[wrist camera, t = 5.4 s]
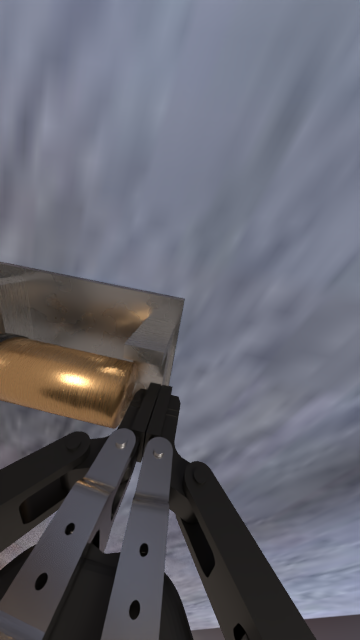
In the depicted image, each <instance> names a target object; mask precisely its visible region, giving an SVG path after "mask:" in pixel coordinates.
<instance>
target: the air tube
mask: <svg viewBox="0 0 360 640" xmlns="http://www.w3.org/2000/svg"><path fill="white" fill-rule="evenodd" d="M136 373H137V367H136V364H135V363H134V362H129V361H125V360H120V359H116V358H112V357H107V356H103V355H98V354H94V353H89V352H85V351H81V350H76V349H72V348H67V347H63V346H58V345H54V344H50V343H45V342H41V341H36V340H32V339H29V338H27V337H25V336H21V335H16V334H11V333H1V332H0V400H1V401H5V402H9V403H13V404H17V405H21V406H25V407H29V408H33V409H37V410H41V411H45V412H49V413H53V414H57V415H61V416H65V417H69V418H73V419H77V420H81V421H85V422H89V423H93V424H97V425H101V426H105V427H109V428H113V429H114V428H116V427H117V426H118V425H119V424H120V422H121V421H122V419H123V417H124V415H125V413H126V410H127V408H128V405H129V403H130V400H131V397H132V393H133V390H134V386H135V381H136Z"/></svg>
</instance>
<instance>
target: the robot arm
mask: <svg viewBox="0 0 360 640" xmlns="http://www.w3.org/2000/svg"><path fill="white" fill-rule="evenodd" d="M171 392H172V387H171V386H166V385H162V386H161V384H157V383H153V382H151V383H150V385H149V387H148V389H142V388H141V389H140V390H138V391H137V392H136V393H135V395H134V397H133V399H132V401H131V403H130V405H129V407H128V409H127V411H126V413H125V415H124V417H123V419H122V421H121V423H120V425H119V427H118V429H117V430H116V431H114V432H113V433H112V434H111V435H110V436H108V437H105V438H97V439H90V438H89V436H88V434H86V433H85V432H73V433H71V434H69V435H67V436H65V437H63V438H61V439H59V440H57V441H55V442H53V443H51V444H49V445H47V446H45V447H43V448H41V449H40V450H38V451H36V452H34V453H32V454H30V455H28V456H26V457H24V458H22V459H20V460H18V461H16V462H14V463H12V464H10V465H9V466H7V467H5V468H3V469H1V470H0V552H2V551H3V550H4V549H6V548H7V547H8V546H10V545H11V544H12V543H14V542H15V541H16V540H18V539H19V538H20V537H22V536H23V535H24V534H26V533H27V532H29V531H30V530H31V529H33V528H34V527H35V526H37V525H38V524H39V523H41V522H42V521H43V520H45V519H46V518H47V517H49V516H50V515H51V514H53V513H54V512H56V511H57V510H58V511H57V512H56V514H55V516H54V517H53V519H52V520H51V522H50V523H49V525H48V527H47V528H46V530H45V531H44V533H43V535H42V536H41V538H40V539H39V541H38V542H37V544H36V545H34V546H32V547H30V548H29V549H27V550H26V551H24V552H23V553H21V554H20V555H18V556H17V557H16V558H15V559H13V560H12V561H11V562H10V563H8V564H7V565H6V566H5V567H4V568H2V569H1V570H0V640H193V636H192V633H191V630H190V626H189V623H188V620H187V616H186V613H185V610H184V607H183V604H182V601H181V599H180V596H179V594H178V592H177V590H176V588H175V586H174V584H173V583H172V581H171V580H170V578H169V577H168V576H167V575H166V574H165V572H164V569H165V557H166V544H167V532H168V520H169V509H170V510H172V511H173V512H174V513H175V514H176V518H177V521H178V523H179V526H180V528H181V531H182V533H183V536H184V538H185V541H186V543H187V546H188V548H189V551H190V553H191V556H192V558H193V561H194V563H195V566H196V568H197V571H198V573H199V576H200V578H201V581H202V583H203V586H204V588H205V591H206V593H207V595H208V598H209V600H210V603H211V605H212V608H213V610H214V613H215V615H216V618H217V620H218V623H219V625H220V628H221V630H222V633H223V635H224V638H225V640H316V638H315V637H314V635H313V634H312V632H311V630H310V629H309V627H308V626H307V624H306V622H305V621H304V619H303V617H302V616H301V614H300V613H299V611H298V609H297V608H296V606H295V604H294V603H293V601H292V600H291V598H290V596H289V595H288V593H287V592H286V590H285V588H284V587H283V585H282V584H281V582H280V580H279V579H278V577H277V576H276V574H275V572H274V571H273V569H272V567H271V566H270V564H269V563H268V561H267V559H266V558H265V556H264V555H263V553H262V551H261V550H260V548H259V547H258V545H257V543H256V542H255V540H254V538H253V537H252V535H251V534H250V532H249V530H248V529H247V527H246V526H245V524H244V522H243V521H242V519H241V518H240V516H239V514H238V513H237V511H236V509H235V508H234V506H233V505H232V503H231V501H230V500H229V498H228V497H227V495H226V493H225V492H224V490H223V489H222V487H221V485H220V484H219V482H218V480H217V479H216V477H215V476H214V474H213V472H212V471H211V469H210V468H209V467H208V466H207V465H206V464H204V463H202V462H199V461H195V462H192V463H189V462H188V461H186V460H185V459H183V458H182V457H181V456H180V455H179V454H178V453H177V451H176V449H175V445H174V440H175V434H176V428H177V422H178V416H179V410H180V400H179V397H177V396H173V395H171ZM142 457H143V459H142ZM141 460H142V465H141V470H140V474H139V478H138V483H137V487H136V492H135V496H134V498H133V502H132V506H131V510H130V514H129V519H128V523H127V527H126V532H125V536H124V540H123V545H122V549H121V552H119V553H110V554H105V553H104V550H105V548H106V545H107V542H108V539H109V536H110V532H111V528H112V525H113V522H114V520H115V517H116V515H117V512H118V510H119V507H120V505H121V502H122V500H123V497H124V495H125V492H126V490H127V487H128V484H129V482H130V479H131V476H132V473H133V470H134V467H135V464H136V461H137V462H141Z"/></svg>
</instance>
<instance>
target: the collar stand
mask: <svg viewBox="0 0 360 640" xmlns="http://www.w3.org/2000/svg"><path fill="white" fill-rule="evenodd" d="M184 300H185V299H183V298H178V297H173V296H168V295H163V294H158V293H153V292H148V291H143V290H138V289H133V288H128V287H123V286H118V285H113V284H108V283H103V282H98V281H93V280H88V279H83V278H78V277H73V276H69V275H64V274H59V273H54V272H49V271H44V270H39V269H34V268H29V267H24V266H19V265H14V264H9V263H4V262H0V332H1V333H11V334H16V335H21V336H25V337H27V338H29V339H32V340H36V341H41V342H45V343H50V344H54V345H58V346H63V347H67V348H72V349H76V350H81V351H85V352H89V353H94V354H98V355H103V356H107V357H112V358H116V359H120V360H125V361H129V362H134V363H135V364H136V367H137V373H136V381H135V386H134V390H133V393H132V397H131V400H130V403H131V401H132V399H133V397H134V395H135V393H136V392H137V391H138V390H140V389H141V388H142V389H148V387H149V385H150V383H151V382H153V383H157V384H161V386H162V385H166V386H169V381H170V376H171V370H172V365H173V359H174V354H175V349H176V343H177V338H178V332H179V327H180V322H181V316H182V311H183V305H184ZM130 403H129V405H130ZM129 405H128V407H129ZM127 409H128V408H127ZM126 411H127V410H126ZM120 423H121V422H120ZM119 425H120V424H119Z"/></svg>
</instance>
